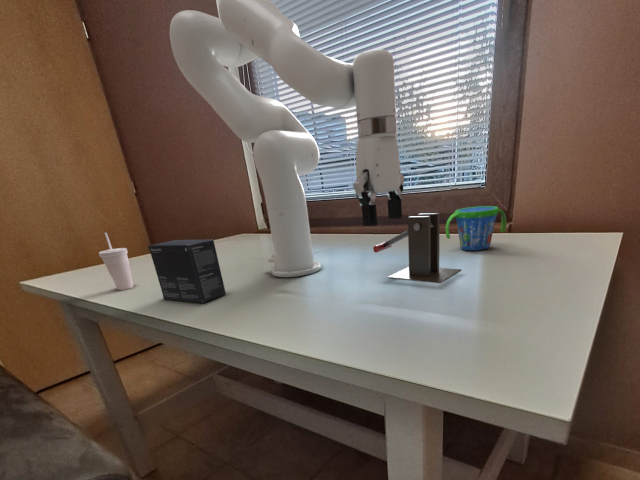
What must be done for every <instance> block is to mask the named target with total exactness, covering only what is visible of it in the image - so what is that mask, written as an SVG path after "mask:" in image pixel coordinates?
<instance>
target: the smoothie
mask: <svg viewBox="0 0 640 480" xmlns="http://www.w3.org/2000/svg"><path fill="white" fill-rule="evenodd" d="M103 234H104V236H105V239H106V242H107V245H108V248H109V249H105V250H101V251H99V252H98V256H99V258H101V260H102V261H103V264H104V266H105V267H106V269H107V271H108V273H109V275H110V278H111V279H112V281H113V283H114V285H115V287H116V289H117V291H124V290H125V291H126V290H130V289H132V288H134V282H133V276H132V273H131V268H130V267H131V266H130V263H129V256H128V253H129V251H128V248H126V247H119V248H113V246H112V244H111V241H110V238H109V235H108V233H107V232H104V233H103Z"/></svg>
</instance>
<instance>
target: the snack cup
mask: <svg viewBox="0 0 640 480" xmlns="http://www.w3.org/2000/svg"><path fill="white" fill-rule="evenodd" d="M498 213H499V214H500V229H499V232H500V233H502V234H503V233H505V231H506V230H507V217H506V213H505V211H503V210H502V209H500V208H499V207H498V206H494V205H493V206H492V205H479V206H469V207H463V208H458V209H456V210H455V211H454V213H452V214H451V215H450V216H449V217H448V219H447V220H446V223H445V229H444V231H445V237H446V239H447V240H450V239H451V235H450V234H451V233H450V223H451V222H452V221H453V219H454V218H455V220H456V224H457V231H458V232H457V233H458V239H459V240H458V241H459V246H460V249H461V250H463V251H473V252H475V251H482V250H487V249H489V248H490V246H491V242H492V238H493V233H494V228H495V223H496V219H497V216H498Z"/></svg>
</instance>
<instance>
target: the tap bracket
mask: <svg viewBox="0 0 640 480" xmlns="http://www.w3.org/2000/svg"><path fill="white" fill-rule="evenodd" d="M428 215H430V216H428ZM440 215H441V214H440V212H435V213H433V212H431V213H429V212H428V213H427V212H426V213H418V214H417V216H415V215H413V216H412V215H411V216H410V215H409V216H408V217H407V230H408V236H407V237H408V238H407V239H408V240H407V242H408V266H407V267H405V268H403V269H401V270H398V271H397V272H395V273H392V274H390V275H389V276H387V279H392V280H393V279H395V280H403V281H414V282H424V283H434V284H443V282H445V281H447V280H448V279H450V278H452V277H454V276H455V275H456V274H458V273H460V272H461V271H462V269H460V268H446V267H440V234H441V233H440V231H441V230H440V229H441V228H440V226H441V223H440V222H441V219H440V217H441V216H440ZM431 219H432V221H433V224H434V227H432V228H431Z"/></svg>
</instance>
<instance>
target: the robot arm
mask: <svg viewBox="0 0 640 480" xmlns="http://www.w3.org/2000/svg"><path fill="white" fill-rule="evenodd" d="M218 13H219V17H217V16H214V15H211V14H208V13H205V12H203V11H198V10H194V9H193V10H191V9H186V10H181V11H179V12H177V13H176V14H174V16H173V17H172V18H171V21H170V24H169V40H170V46H171V50H172V55H173V58H174V61H175V62H176V65H177V66H178V68H179V70H180V72H181V74H182V75H183V77H184V78H185V79H186V81H187V82H188V83H189V84H190V86H191V87H192V88H193V89H194V90H195V91H196V92H197V93H198V94H199V95H200V96H201V97H202V98H203V99H204V100H205V101H206V102H207V103H208V104H209V106H210V107H211V108H212V110H214V112H215V114H217V115H218V116H219V118H220V119H221V120H222V121H223V122H224V124H226V125H227V127H228V128H229V129H230V130H231V132H233V133H234V134H235V135H236V137H237V138H239V139H240V140H241V141H243V142H246V143H251V144H252V143H253V144H254V145H253V147H252V148H253V150H252V152H253V153H252V156H253V162H254V166H255V168H256V171H257V174H258V176H259V177H258V178H259V180H260V184H261V186H262V192H263V196H264V201H265V206H266V211H267V217H268V223H269V229H270V234H271V241H272V246H273V247H272V248H273V251H274V252H273V253H272V254H271V256H269V257H268V258H267V262H269V263H273V265H274V267H273V268H271V271H270V272H271V275H272V276H273V277H277V278H294V277H303V276H307V275H311V274H314V273H316V272H319V271H320V270H321V268H322V266H321V263H320V262H318V261H315V259H314V252H313V243H312V236H311V235H312V234H311V227H310V221H309V213H308V205H307V197H306V192H305V190H304V186H303V183H302V181H301V179H300V176H306V175H309V174H311V173H312V172H314V171H315V170H316V168H317V167H318V165H319V162H320V150H319V146H318V144H317V141H316V140H315V138H314V137H313V135H312V134H311V133H310V132H309V131H308V129H307V128H306V127H305V126H304V125H303V124H302V122H301V121H300V120H298V118H297V117H296V116H295V115H294V114H293V113H292V112H291V111H290V110H289V108H288V107H287V106H285V104H283V103H282V102H281V101H279V100H277V99H275V98H271V97H266V96H261V95H257V94H254V93H252V92H251V91H249V90H248V88H247V87H245V85H243V84H242V83H241V81H240V80H239V78H238V77H237V76H235V75H234V74H233V72H231V71H230V70H229V69H228V68H239V67H243V66H244V65H246V64H248V63H250V62H253V61H255V60H257V59H259V58H260V59H261V60H263V61H264V62H265V63H266V64H268V65H269V66H271V67H272V68H273V71H274V72H275V74H277V76H278V78H279V79H280V80H281V81H282V82H283V83H284V84H286V86H288V87H290V88H291V89H292V90H294V91H295V92H296V93H298V94H299V95H301V96H302V97H303V98H305V99H306V100H308V101H309V102H311V103H313V104H315V105H318V106H322V107H330V108H334V109H338V110H348V109H349V110H350V109H352V108H355V111H356V124H357V136H358V140H357V141H356V151H355V152H356V153H355V171H356V173H355V174H356V175H355V176H356V180H354V182H353V183H352V187H353V189H354V192H355V195H356V199H357V200H358V201H359V202H358V203H359V204H358V205H359V206H360V207H361V216H362V225H363V226H364V227H377V226H378V211H377V204H375V201H376V198H377V195H378V194H384V193H386V195H387V198H388V199H387V200H386V201H387V215H388V216H387V217H388V219H390V220H397V219H398V220H399V219H402V218H403V210H402V209H403V206H402V205H403V204H402V199H403V191H404V183H405V175H404V174H403V173H402V172H401V161H400V152H399V145H398V141H397V140H398V139H397V137H398V126H397V124H398V123H397V106H396V103H397V102H396V86H395V85H396V83H395V81H396V80H395V63H394V57H393V55H392V53H391V52H390V51H389V50H387V49H382V48H381V49H369V50H365V51H363V52H361V53H359V54H357V55H356V56H355V57H354V59H353V61H352V63H349V62H343V61H341V60H339V59H337V58H333V57H331V56H327V55H326V54H324V53H322V52H321V51H320V50H318V49H316V48H315V47H314V46H312V45H310V43H308V42H306V41H305V40H304V39H302V38H301V37H300V32H299V28H298V26H297V25H296V23H295V22H294V21H293V20H292V19H290V18H288V17H287V16H285V15H284V14H283V13H282V12H281V11H280V9H279V8H278V6H277V5H276V4H275V3H274V2H273V1H271V0H220V1H219V3H218Z"/></svg>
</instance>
